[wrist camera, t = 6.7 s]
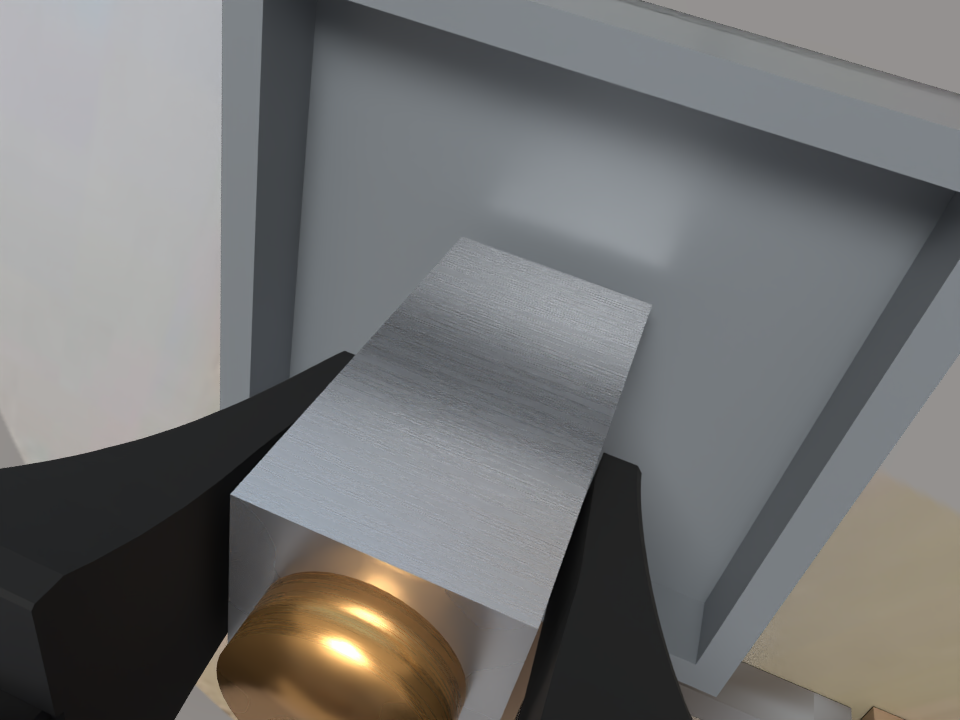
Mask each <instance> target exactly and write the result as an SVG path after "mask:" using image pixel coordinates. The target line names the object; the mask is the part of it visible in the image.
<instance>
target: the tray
mask: <svg viewBox="0 0 960 720" xmlns="http://www.w3.org/2000/svg"><path fill="white" fill-rule="evenodd" d="M461 237H465V238H468V239H471V240H473V241H476V242H479V243H482V244H484V245H487V246H490V247H493V248H496V249H498V250H501V251H504V252H507V253H510V254H512V255H515V256H518V257H521V258H523V259H526V260H529V261H532V262H535V263H537V264H540V265H543V266H546V267H548V268H551V269H554V270H557V271H560V272H562V273H565V274H568V275H571V276H574V277H576V278H579V279H582V280H585V281H587V282H590V283H593V284H596V285H599V286H601V287H604V288H607V289H610V290H612V291H615V292H618V293H621V294H624V295H626V296H629V297H632V298H635V299H638V300H640V301H643V302H646V303H649V304H651V305H652V307H651V309H650V312H649V315H648V318H647V321H646V324H645V326H644V329H643V332H642V335H641V338H640V341H639V344H638V346H637V349H636V352H635V355H634V358H633V361H632V364H631V366H630V369H629V372H628V375H627V378H626V381H625V383H624V386H623V389H622V392H621V395H620V398H619V401H618V403H617V406H616V409H615V412H614V415H613V418H612V421H611V423H610V426H609V429H608V432H607V435H606V438H605V440H604V443H603V446H602V449H601V452H600V455H599V458H598V460H597V463H596V466H595V469H594V472H593V475H592V478H591V480H590V483H589V486H588V489H589V487H590V484H591V482H592V479H593V477H594V475H595V472H596V470H597V467H598V465H599V462H600V460H601V457H602V455H603V453H607V454H609V455H612V456H614V457H617V458H620V459H622V460H625V461H627V462H630V463H632V464H635V465H637V466H638V467H639V469H640V471H641V473H642V476H641V510H642V522H643V532H644V541H645V548H646V554H647V561H648V567H649V574H650V579H651V584H652V589H653V594H654V598H655V603H656V607H657V612H658V616H659V620H660V624H661V628H662V632H663V635H664V639H665V642H666V646H667V649H668V652H669V656H670V659H671V662H672V665H673V669H674V671H675V674H676V677H677V680H678V681H680V682H682V683H685V684H687V685H689V686H692V687H694V688H696V689H698V690H701V691H703V692H705V693H708V694H710V695H712V696H715V697H717V695H718V694H719V693H720V691H721V690H722V688H723V687H724V686H725V684H726V683H727V681H728V680H729V679H730V677H731V676H732V674H733V673H734V671H735V670H736V669H737V667H738V666H739V664H740V663H741V662H742V660H743V659H744V657H745V656H746V655H747V653H748V652H749V650H750V649H751V648H752V646H753V645H754V643H755V642H756V640H757V639H758V638H759V636H760V635H761V633H762V632H763V631H764V629H765V628H766V626H767V625H768V624H769V622H770V621H771V619H772V618H773V616H774V615H775V614H776V612H777V611H778V609H779V608H780V607H781V605H782V604H783V602H784V601H785V600H786V598H787V597H788V595H789V594H790V593H791V591H792V590H793V588H794V587H795V585H796V584H797V583H798V581H799V580H800V578H801V577H802V576H803V574H804V573H805V571H806V570H807V569H808V567H809V566H810V564H811V563H812V561H813V560H814V559H815V557H816V556H817V554H818V553H819V552H820V550H821V549H822V547H823V546H824V545H825V543H826V542H827V540H828V539H829V538H830V536H831V535H832V533H833V532H834V530H835V529H836V528H837V526H838V525H839V523H840V522H841V521H842V519H843V518H844V516H845V515H846V514H847V512H848V511H849V509H850V508H851V506H852V505H853V504H854V502H855V501H856V499H857V498H858V497H859V495H860V494H861V492H862V491H863V490H864V488H865V487H866V485H867V484H868V482H869V481H870V480H871V478H872V477H873V475H874V474H875V473H876V471H877V470H878V468H879V467H880V466H881V464H882V463H883V461H884V460H885V459H886V457H887V456H888V454H889V453H890V451H891V450H892V449H893V447H894V446H895V444H896V443H897V441H898V440H899V439H900V437H901V436H902V434H903V433H904V432H905V430H906V429H907V427H908V426H909V425H910V423H911V422H912V420H913V419H914V418H915V416H916V415H917V413H918V412H919V411H920V409H921V408H922V406H923V405H924V404H925V402H926V401H927V399H928V398H929V396H930V395H931V394H932V392H933V391H934V389H935V388H936V387H937V385H938V384H939V382H940V381H941V380H942V378H943V377H944V375H945V374H946V372H947V371H948V369H949V368H950V367H951V365H952V364H953V363H954V361H955V360H956V358H957V357H958V356H959V354H960V94H957V93H954V92H950V91H947V90H943V89H940V88H937V87H933V86H930V85H927V84H923V83H920V82H916V81H913V80H910V79H906V78H903V77H899V76H896V75H893V74H889V73H886V72H883V71H879V70H876V69H872V68H869V67H866V66H862V65H859V64H855V63H852V62H849V61H845V60H842V59H838V58H835V57H832V56H828V55H825V54H821V53H818V52H815V51H811V50H808V49H805V48H801V47H798V46H794V45H791V44H787V43H784V42H780V41H777V40H774V39H771V38H767V37H763V36H760V35H757V34H753V33H750V32H747V31H743V30H740V29H737V28H733V27H730V26H726V25H723V24H720V23H716V22H713V21H709V20H706V19H703V18H699V17H696V16H693V15H689V14H686V13H682V12H679V11H676V10H672V9H669V8H665V7H662V6H658V5H655V4H652V3H648V2H645V1H642V0H222V158H221V333H220V410H222V409H225V408H227V407H229V406H232V405H234V404H237V403H239V402H241V401H243V400H246V399H248V398H250V397H252V396H254V395H256V394H258V393H260V392H262V391H264V390H267V389H269V388H271V387H273V386H275V385H277V384H279V383H281V382H283V381H285V380H287V379H289V378H291V377H293V376H295V375H297V374H299V373H301V372H303V371H305V370H307V369H309V368H310V367H312V366H314V365H316V364H318V363H320V362H322V361H324V360H326V359H328V358H330V357H332V356H334V355H336V354H338V353H340V352H342V351H347V352H349V353H352V354H354V355H356V354H357V353H358V352H359V351H360V350H361V348H362V347H363V346H364V345H365V344H366V343H367V342H368V341H369V339H370V338H371V337H372V336H373V335H374V334H375V333H376V332H377V331H378V329H379V328H380V327H381V326H382V325H383V324H384V323H385V322H386V321H387V319H388V318H389V317H390V316H391V315H392V314H393V313H394V312H395V311H396V309H397V308H398V307H399V306H400V305H401V304H402V303H403V302H404V301H405V299H406V298H407V297H408V296H409V295H410V294H411V293H412V292H413V291H414V289H415V288H416V287H417V286H418V285H419V284H420V283H421V282H422V281H423V279H424V278H425V277H426V276H427V275H428V274H429V273H430V272H431V271H432V269H433V268H434V267H435V266H436V265H437V264H438V263H439V262H440V261H441V259H442V258H443V257H444V256H445V255H446V254H447V253H448V252H449V251H450V249H451V248H452V247H453V246H454V245H455V244H456V243H457V242H458V241H459V239H460V238H461ZM588 489H587V492H588ZM587 492H586V494H587ZM585 497H586V495H585ZM585 497H584V499H585ZM583 501H584V500H583ZM582 504H583V503H582ZM547 604H548V603H547ZM546 608H547V606H546ZM545 612H546V609H545V611H544V614H543V617H542V620H541V621H542V622H543V620H544V616H545Z"/></svg>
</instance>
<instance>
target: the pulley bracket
mask: <svg viewBox="0 0 960 720" xmlns="http://www.w3.org/2000/svg"><path fill="white" fill-rule="evenodd" d="M542 624H543V622H542V621H541V623H540V626H539V629H538V631H537V633H536V636H535V638H534V641H533V643H532V645H531V648H530V650H529V653H528V655H527V657H526V660H525V662H524V664H523V667H522V669H521V672H520V674H519V676H518V679H517V681H516V684H515V686H514V688H513V691H512V693H511V695H510V698H509V700H508V703H507V705H506V707H505V710H504V712H503V715H502V717H501V719H500V720H515V718H516V715H517V713H518V711H519V708H520V706H521V704H522V702H523V699H524V697H525V693H526V689H527V685H528V681H529V677H530V673H531V669H532V665H533V661H534V657H535V653H536V649H537V645H538V641H539V636H540V632H541V628H542ZM678 683H679V686H680V689H681V692H682V694H683V697H684V700H685V703H686V705H687V708H688V710H689V712H690V715H692V716H694V717H696V718H699V719H701V720H852V717H851V708H849V707H847V706H845V705H842V704H840V703H838V702H835V701H833V700H831V699H828V698H826V697H823V696H821V695H819V694H816V693H814V692H812V691H809V690H807V689H805V688H802V687H800V686H797V685H795V684H793V683H790V682H788V681H786V680H783V679H781V678H779V677H776V676H774V675H772V674H769V673H767V672H764V671H762V670H760V669H757V668H755V667H753V666H750V665H748V664H746V663H743V662H741V663H740V664H739V666H738V667H737V669H736V670H735V671H734V673H733V674H732V676H731V677H730V679H729V680H728V681H727V683H726V684H725V686H724V687H723V688H722V690H721V691H720V693H719V694H718V695H717V697H715V696H712V695H710V694H708V693H705V692H703V691H701V690H698V689H696V688H694V687H692V686H689V685H687V684H685V683H682V682H680V681H678ZM861 720H904V719H902V718H899V717H897V716H894V715H892V714H890V713H887V712H885V711H883V710H880V709H878V708H875V707H873V708H872V709H871V710H870V711H869V712H868V713H867V714H866V715H865V716H864V717H863V718H862V719H861Z"/></svg>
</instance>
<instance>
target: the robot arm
mask: <svg viewBox="0 0 960 720" xmlns="http://www.w3.org/2000/svg"><path fill="white" fill-rule="evenodd" d="M354 356H355V355H354V354H352V353H349V352H347V351H342V352H340V353H338V354H336V355H334V356H332V357H330V358H328V359H326V360H324V361H322V362H320V363H318V364H316V365H314V366H312V367H310V368H309V369H307V370H305V371H303V372H301V373H299V374H297V375H295V376H293V377H291V378H289V379H287V380H285V381H283V382H281V383H279V384H277V385H275V386H273V387H271V388H269V389H267V390H264V391H262V392H260V393H258V394H256V395H254V396H252V397H250V398H248V399H246V400H243V401H241V402H239V403H237V404H234V405H232V406H229V407H227V408H225V409H222V410H220V411H218V412H215V413H213V414H211V415H208V416H206V417H203V418H201V419H198V420H196V421H193V422H191V423H188V424H185V425H182V426H180V427H177V428H174V429H171V430H168V431H165V432H162V433H158V434H155V435H152V436H149V437H146V438H143V439H139V440H136V441H132V442H128V443H124V444H120V445H116V446H112V447H108V448H104V449H101V450H97V451H93V452H89V453H85V454H80V455H76V456H71V457H66V458H61V459H56V460H51V461H45V462H39V463H33V464H28V465H22V466H15V467H9V468H2V469H0V720H174V719H175V718H176V716H177V714H178V713H179V711H180V709H181V708H182V706H183V704H184V703H185V701H186V699H187V698H188V696H189V694H190V692H191V691H192V689H193V687H194V686H195V684H196V683H197V681H198V679H199V678H200V676H201V675H202V673H203V671H204V670H205V668H206V666H207V665H208V663H209V662H210V660H211V658H212V657H213V655H214V654H215V652H216V650H217V649H218V647H219V645H220V644H221V642H222V641H223V639H224V638H225V636H226V634H227V633H228V596H229V536H230V494H231V493H232V492H233V491H234V490H235V488H236V487H237V486H238V485H239V484H240V483H241V482H242V481H243V480H244V478H245V477H246V476H247V475H248V474H249V473H250V472H251V471H252V470H253V468H254V467H255V466H256V465H257V464H258V463H259V462H260V461H261V460H262V458H263V457H264V456H265V455H266V454H267V453H268V452H269V451H270V450H271V448H272V447H273V446H274V445H275V444H276V443H277V442H278V441H279V440H280V438H281V437H282V436H283V435H284V434H285V433H286V432H287V431H288V430H289V428H290V427H291V426H292V425H293V424H294V423H295V422H296V421H297V420H298V418H299V417H300V416H301V415H302V414H303V413H304V412H305V411H306V410H307V408H308V407H309V406H310V405H311V404H312V403H313V402H314V401H315V400H316V398H317V397H318V396H319V395H320V394H321V393H322V392H323V391H324V390H325V388H326V387H327V386H328V385H329V384H330V383H331V382H332V381H333V380H334V378H335V377H336V376H337V375H338V374H339V373H340V372H341V371H342V370H343V368H344V367H345V366H346V365H347V364H348V363H349V362H350V361H351V360H352V358H353V357H354ZM641 476H642V473H641V471H640V469H639V467H638V466H637V465H635V464H632V463H630V462H627V461H625V460H622V459H620V458H617V457H614V456H612V455H609V454H607V453H603V455H602V457H601V460H600V462H599V465H598V467H597V470H596V472H595V475H594V477H593V479H592V482H591V484H590V487H589V489H588V492H587V494H586V497H585V499H584V501H583V504H582V506H581V509H580V512H579V515H578V517H577V520H576V523H575V526H574V529H573V532H572V535H571V537H570V540H569V543H568V546H567V549H566V552H565V554H564V557H563V560H562V563H561V566H560V569H559V572H558V574H557V577H556V580H555V583H554V586H553V589H552V592H551V594H550V597H549V600H548V604H547V608H546V612H545V616H544V620H543V624H542V628H541V632H540V636H539V641H538V645H537V649H536V653H535V657H534V661H533V665H532V669H531V673H530V677H529V681H528V685H527V689H526V693H525V697H524V701H523V704H522V708H521V711H520V715H519V718H518V720H692V717H691V715H690V712H689V710H688V708H687V705H686V703H685V700H684V697H683V694H682V692H681V689H680V686H679V683H678V680H677V677H676V674H675V671H674V669H673V665H672V662H671V659H670V656H669V652H668V649H667V646H666V642H665V639H664V635H663V632H662V628H661V624H660V620H659V616H658V612H657V607H656V603H655V598H654V594H653V589H652V584H651V579H650V574H649V567H648V561H647V554H646V548H645V541H644V532H643V522H642V510H641Z"/></svg>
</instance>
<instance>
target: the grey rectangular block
mask: <svg viewBox="0 0 960 720" xmlns="http://www.w3.org/2000/svg"><path fill="white" fill-rule="evenodd" d="M651 307H652V305H651V304H649V303H646V302H643V301H640V300H638V299H635V298H632V297H629V296H626V295H624V294H621V293H618V292H615V291H612V290H610V289H607V288H604V287H601V286H599V285H596V284H593V283H590V282H587V281H585V280H582V279H579V278H576V277H574V276H571V275H568V274H565V273H562V272H560V271H557V270H554V269H551V268H548V267H546V266H543V265H540V264H537V263H535V262H532V261H529V260H526V259H523V258H521V257H518V256H515V255H512V254H510V253H507V252H504V251H501V250H498V249H496V248H493V247H490V246H487V245H484V244H482V243H479V242H476V241H473V240H471V239H468V238H465V237H461V238H460V239H459V241H458V242H457V243H456V244H455V245H454V246H453V247H452V248H451V249H450V251H449V252H448V253H447V254H446V255H445V256H444V257H443V258H442V259H441V261H440V262H439V263H438V264H437V265H436V266H435V267H434V268H433V269H432V271H431V272H430V273H429V274H428V275H427V276H426V277H425V278H424V279H423V281H422V282H421V283H420V284H419V285H418V286H417V287H416V288H415V289H414V291H413V292H412V293H411V294H410V295H409V296H408V297H407V298H406V299H405V301H404V302H403V303H402V304H401V305H400V306H399V307H398V308H397V309H396V311H395V312H394V313H393V314H392V315H391V316H390V317H389V318H388V319H387V321H386V322H385V323H384V324H383V325H382V326H381V327H380V328H379V329H378V331H377V332H376V333H375V334H374V335H373V336H372V337H371V338H370V339H369V341H368V342H367V343H366V344H365V345H364V346H363V347H362V348H361V350H360V351H359V352H358V353H357V354H356V355H355V356H354V357H353V358H352V360H351V361H350V362H349V363H348V364H347V365H346V366H345V367H344V368H343V370H342V371H341V372H340V373H339V374H338V375H337V376H336V377H335V378H334V380H333V381H332V382H331V383H330V384H329V385H328V386H327V387H326V388H325V390H324V391H323V392H322V393H321V394H320V395H319V396H318V397H317V398H316V400H315V401H314V402H313V403H312V404H311V405H310V406H309V407H308V408H307V410H306V411H305V412H304V413H303V414H302V415H301V416H300V417H299V418H298V420H297V421H296V422H295V423H294V424H293V425H292V426H291V427H290V428H289V430H288V431H287V432H286V433H285V434H284V435H283V436H282V437H281V438H280V440H279V441H278V442H277V443H276V444H275V445H274V446H273V447H272V448H271V450H270V451H269V452H268V453H267V454H266V455H265V456H264V457H263V458H262V460H261V461H260V462H259V463H258V464H257V465H256V466H255V467H254V468H253V470H252V471H251V472H250V473H249V474H248V475H247V476H246V477H245V478H244V480H243V481H242V482H241V483H240V484H239V485H238V486H237V487H236V488H235V490H234V491H233V492H232V493H231V494H230V536H229V596H228V644H227V646H226V647H225V648H224V650H223V651H222V653H221V654H220V656H219V659H218V662H217V679H218V683H219V687H220V690H221V692H222V694H223V697H224V699H225V700H226V702H227V704H228V706H229V707H230V709H231V710H232V712H233V713H234V715H235V716H236V717H237V719H238V720H500V719H501V717H502V715H503V712H504V710H505V707H506V705H507V703H508V700H509V698H510V695H511V693H512V691H513V688H514V686H515V684H516V681H517V679H518V676H519V674H520V672H521V669H522V667H523V664H524V662H525V660H526V657H527V655H528V653H529V650H530V648H531V645H532V643H533V641H534V638H535V636H536V633H537V631H538V629H539V626H540V623H541V620H542V617H543V614H544V611H545V609H546V606H547V603H548V600H549V597H550V594H551V592H552V589H553V586H554V583H555V580H556V577H557V574H558V572H559V569H560V566H561V563H562V560H563V557H564V554H565V552H566V549H567V546H568V543H569V540H570V537H571V535H572V532H573V529H574V526H575V523H576V520H577V517H578V515H579V512H580V509H581V506H582V503H583V500H584V497H585V495H586V492H587V489H588V486H589V483H590V480H591V478H592V475H593V472H594V469H595V466H596V463H597V460H598V458H599V455H600V452H601V449H602V446H603V443H604V440H605V438H606V435H607V432H608V429H609V426H610V423H611V421H612V418H613V415H614V412H615V409H616V406H617V403H618V401H619V398H620V395H621V392H622V389H623V386H624V383H625V381H626V378H627V375H628V372H629V369H630V366H631V364H632V361H633V358H634V355H635V352H636V349H637V346H638V344H639V341H640V338H641V335H642V332H643V329H644V326H645V324H646V321H647V318H648V315H649V312H650V309H651Z"/></svg>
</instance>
